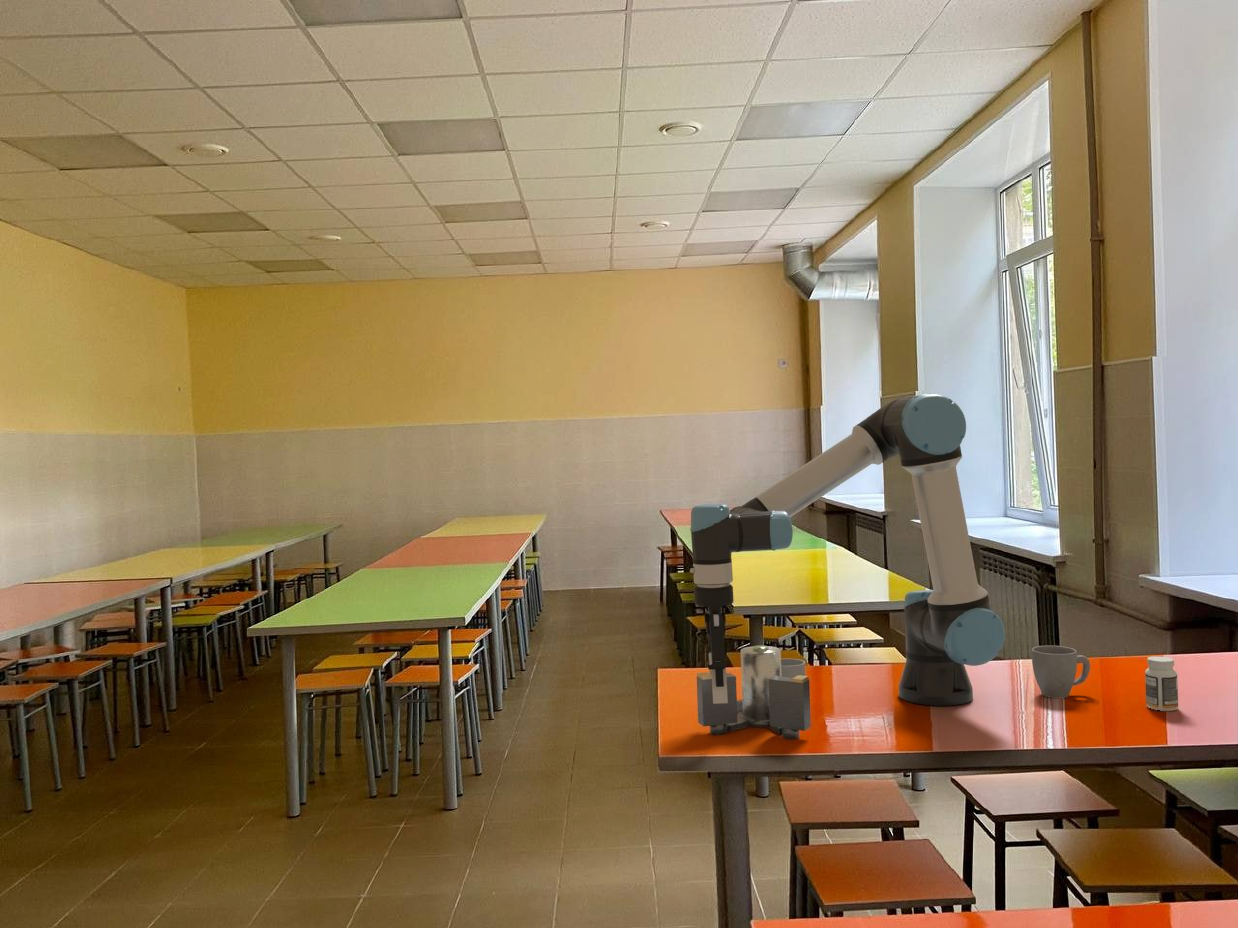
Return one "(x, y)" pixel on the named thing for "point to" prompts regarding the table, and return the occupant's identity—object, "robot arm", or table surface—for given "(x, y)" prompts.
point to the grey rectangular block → (790, 704)
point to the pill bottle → (1161, 684)
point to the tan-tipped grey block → (720, 712)
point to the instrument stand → (756, 687)
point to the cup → (792, 667)
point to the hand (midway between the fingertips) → (718, 693)
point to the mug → (1058, 669)
